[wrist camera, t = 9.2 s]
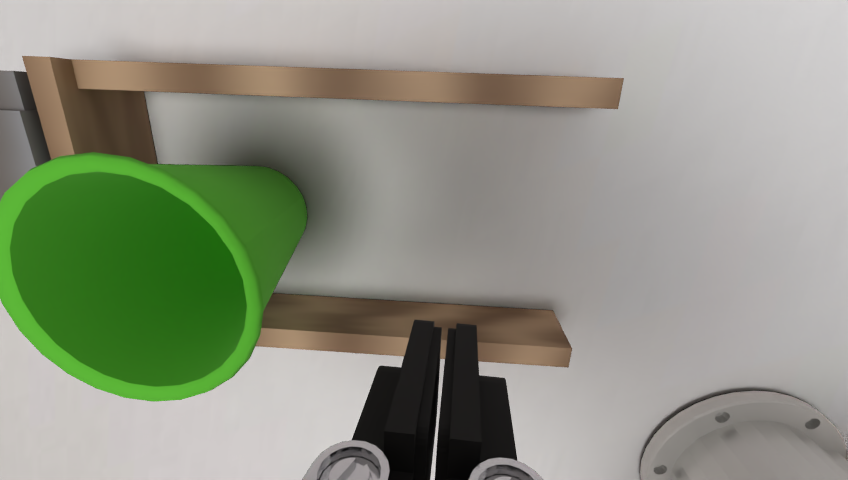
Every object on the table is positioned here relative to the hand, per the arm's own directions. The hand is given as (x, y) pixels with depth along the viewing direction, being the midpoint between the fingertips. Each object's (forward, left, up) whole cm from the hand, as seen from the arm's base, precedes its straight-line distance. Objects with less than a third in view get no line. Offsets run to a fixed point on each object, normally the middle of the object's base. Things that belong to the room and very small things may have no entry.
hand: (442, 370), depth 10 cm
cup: (+11, 0, -13) cm, 17 cm away
